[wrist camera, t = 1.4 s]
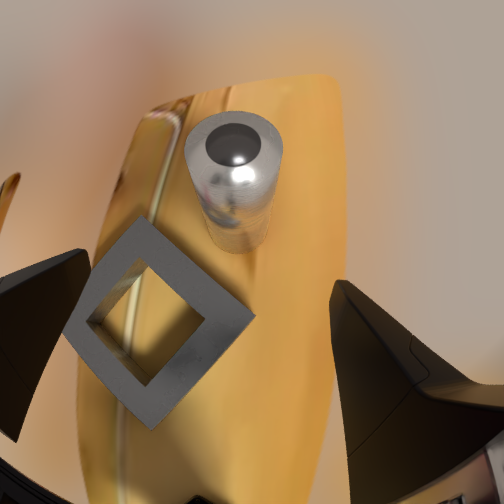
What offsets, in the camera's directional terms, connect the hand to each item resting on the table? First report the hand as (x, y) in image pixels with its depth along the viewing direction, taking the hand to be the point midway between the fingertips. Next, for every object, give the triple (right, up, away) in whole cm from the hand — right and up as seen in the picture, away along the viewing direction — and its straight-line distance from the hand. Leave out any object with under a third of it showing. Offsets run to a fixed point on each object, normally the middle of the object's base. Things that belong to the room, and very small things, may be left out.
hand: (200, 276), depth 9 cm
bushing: (+1, +3, +15) cm, 15 cm away
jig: (-7, -5, +12) cm, 15 cm away
